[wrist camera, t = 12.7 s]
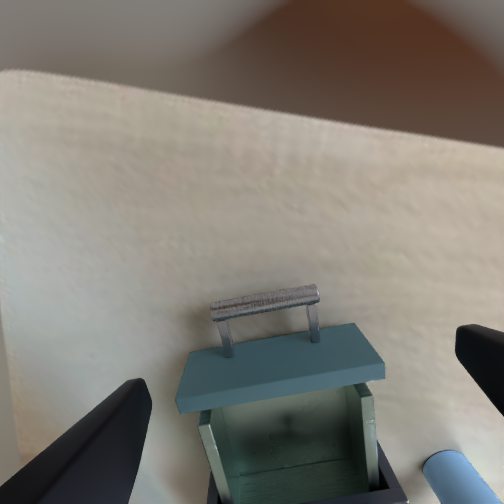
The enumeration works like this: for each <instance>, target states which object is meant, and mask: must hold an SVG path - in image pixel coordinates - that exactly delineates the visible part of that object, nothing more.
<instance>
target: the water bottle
mask: <svg viewBox="0 0 504 504" xmlns="http://www.w3.org/2000/svg"><path fill="white" fill-rule="evenodd" d="M423 473H424V476H425V478H426V479H427V481H428V483H429V484H430V486H431V488H432V489H433V491H434V493H435V494H436V496H437V498H438V499H439V501H440V503H441V504H503V503H502V502H501V501H500V500H499V498H498V497H497V496H496V495H495V493H494V492H493V491H492V490H491V488H490V487H489V486H488V485H487V483H486V482H485V481H484V480H483V478H482V477H481V476H480V475H479V473H478V472H477V471H476V470H475V468H474V467H473V466H472V464H471V463H470V462H469V461H468V459H467V458H466V457H465V456H464V455H463V454H462V453H460V452H457V451H451V450H450V451H442V452H439V453H437V454H435V455H433V456H432V457H430V458H429V459H428V460H427V461H426V463H425V465H424V467H423Z"/></svg>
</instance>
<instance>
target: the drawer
mask: <svg viewBox="0 0 504 504" xmlns="http://www.w3.org/2000/svg"><path fill="white" fill-rule="evenodd" d="M319 301H320V298H319V292H318V289H317V286H316V285H315V284H313V285H307V286H302V287H296V288H291V289H285V290H280V291H275V292H269V293H264V294H258V295H253V296H247V297H242V298H236V299H231V300H226V301H220V302H215V303H211V305H210V313H211V317H212V320H213V321H217V324H218V328H219V332H220V336H221V340H222V344H223V346H222V347H216V348H211V349H205V350H200V351H194V352H190V353H189V357H188V360H187V363H186V366H185V369H184V372H183V375H182V379H181V382H180V385H179V388H178V391H177V394H176V398H175V401H176V404H177V407H178V410H179V413H180V414H185V413H191V412H197V411H200V416H199V421H198V426H197V427H198V430H199V433H200V436H201V439H202V442H203V446H204V449H205V452H206V455H207V458H208V461H209V464H210V467H211V471H212V474H213V477H214V480H215V483H216V486H217V489H218V492H219V496H220V499H221V502H222V504H299V503H305V502H311V501H317V500H323V499H330V498H336V497H342V496H348V495H354V494H360V493H366V492H373V491H379V490H380V486H379V471H378V457H377V443H376V429H375V414H374V400H373V395H372V393H371V392H370V390H369V388H368V386H367V385H366V383H365V382H370V381H375V380H381V379H385V363H384V361H383V360H382V359H381V357H380V356H379V355H378V353H377V352H376V351H375V349H374V348H373V347H372V345H371V344H370V343H369V342H368V340H367V339H366V338H365V336H364V335H363V334H362V332H361V331H360V330H359V328H358V327H357V326H356V325H355V323H350V324H344V325H339V326H333V327H328V328H322V329H319V322H318V315H317V307H316V303H318V302H319ZM302 305H306V310H307V317H308V324H309V331H305V332H300V333H294V334H289V335H283V336H278V337H272V338H266V339H261V340H255V341H250V342H244V343H239V344H233V342H232V338H231V334H230V329H229V325H228V321H227V319H230V318H236V317H241V316H247V315H252V314H258V313H263V312H269V311H274V310H280V309H285V308H291V307H296V306H302Z"/></svg>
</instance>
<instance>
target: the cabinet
mask: <svg viewBox="0 0 504 504" xmlns="http://www.w3.org/2000/svg"><path fill="white" fill-rule="evenodd" d="M376 443H377V457H378V471H379V486H380V490H379V491H373V492H366V493H360V494H354V495H348V496H342V497H336V498H330V499H323V500H317V501H311V502H305V503H299V504H408V499H407V497H406V495H405V493H404V491H403V489H402V487H401V486H400V484H399V482H398V480H397V478H396V476H395V474H394V472H393V470H392V468H391V466H390V464H389V462H388V460H387V458H386V456H385V454H384V452H383V450H382V448H381V446H380V444H379V442H378V440H377V438H376ZM207 504H222V502H221V499H220V496H219V492H218V489H217V486H216V483H215V480H214V477H213V474H212V471H211V473H210V481H209V490H208V498H207Z"/></svg>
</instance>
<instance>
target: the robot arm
mask: <svg viewBox="0 0 504 504" xmlns="http://www.w3.org/2000/svg"><path fill="white" fill-rule="evenodd" d="M455 353H456V356H457V358H458V360H459V361H460V363H461V364H462V365H463V366H464V368H465V369H466V370H467V372H468V373H469V374H470V375H471V377H472V378H473V379H474V380H475V382H476V383H477V384H478V385H479V387H480V388H481V389H482V391H483V392H484V393H485V394H486V396H487V397H488V398H489V399H490V401H491V402H492V403H493V404H494V406H495V407H496V408H497V409H498V411H499V412H500V413H501V414H502V415H503V416H504V332H501V331H497V330H494V329H490V328H487V327H483V326H480V325H476V324H470V325H463V326H459V327H458V328H457V330H456V342H455ZM151 410H152V400H151V397H150V394H149V391H148V388H147V385H146V383H145V380H144V379H142V378H137V379H131V380H128V381H126V382H125V383H124V384H123V385H121V386H120V387H119V388H118V389H117V390H115V391H114V392H113V393H112V394H111V395H109V396H108V397H107V398H106V399H105V400H103V401H102V402H101V403H100V404H99V405H97V406H96V407H95V408H94V409H93V410H91V411H90V412H89V413H88V414H87V415H85V416H84V417H83V418H82V419H81V420H79V421H78V422H77V423H76V424H75V425H73V426H72V427H71V428H70V429H69V430H67V431H66V432H65V433H64V434H63V435H61V436H60V437H59V438H58V439H57V440H56V441H54V442H53V443H52V444H51V445H50V446H48V447H47V448H46V449H45V450H44V451H42V452H41V453H40V454H39V455H38V456H36V457H35V458H34V459H33V460H32V461H30V462H29V463H28V464H27V465H26V466H24V467H23V468H22V469H21V470H20V471H18V472H17V473H16V474H15V475H14V476H12V477H11V478H10V479H9V480H8V481H6V482H5V483H4V484H3V485H2V486H1V487H0V504H128V502H129V498H130V495H131V492H132V489H133V486H134V482H135V479H136V476H137V472H138V469H139V464H140V460H141V456H142V451H143V447H144V442H145V438H146V433H147V428H148V424H149V419H150V415H151Z"/></svg>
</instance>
